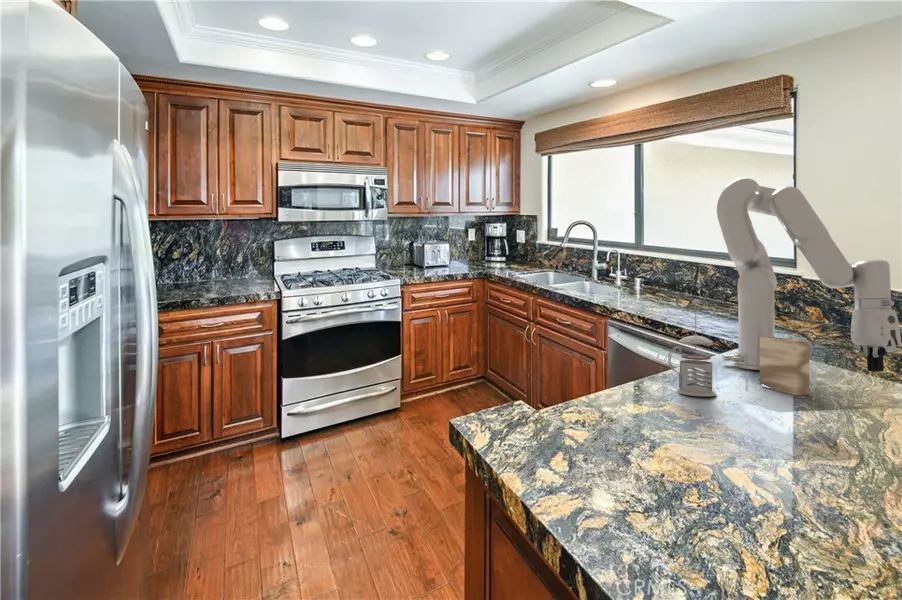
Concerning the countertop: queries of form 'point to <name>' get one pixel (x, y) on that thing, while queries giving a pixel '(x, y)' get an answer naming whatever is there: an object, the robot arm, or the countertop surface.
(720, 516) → the countertop surface
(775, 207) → the robot arm
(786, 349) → the maple block
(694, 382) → the french press
